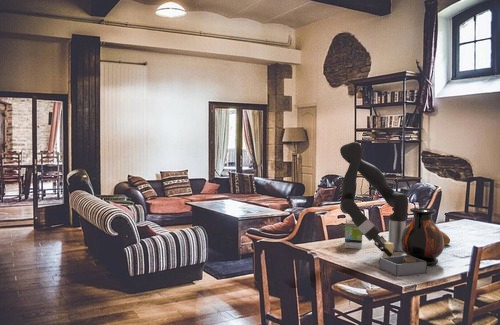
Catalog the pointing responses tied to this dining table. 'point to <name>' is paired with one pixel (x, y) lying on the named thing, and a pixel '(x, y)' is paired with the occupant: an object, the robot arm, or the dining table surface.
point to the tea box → (352, 235)
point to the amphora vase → (422, 237)
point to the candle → (389, 247)
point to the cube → (409, 260)
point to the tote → (402, 266)
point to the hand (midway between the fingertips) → (391, 254)
